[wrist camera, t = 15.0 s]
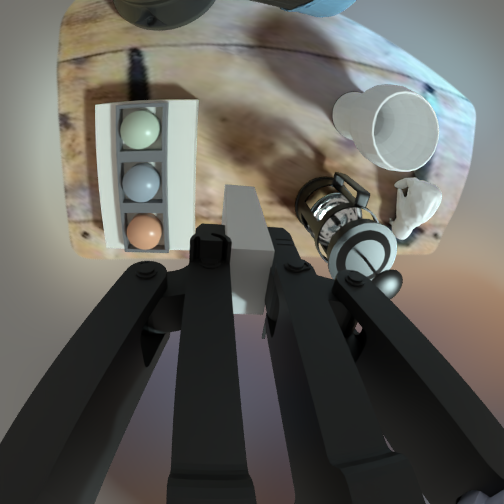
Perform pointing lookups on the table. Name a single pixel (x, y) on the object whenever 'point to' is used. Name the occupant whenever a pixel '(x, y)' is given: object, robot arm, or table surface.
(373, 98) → the cup
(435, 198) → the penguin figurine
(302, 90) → the table surface
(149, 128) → the button sage
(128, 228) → the button terracotta
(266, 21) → the table surface
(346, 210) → the french press
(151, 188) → the button slate
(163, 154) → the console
